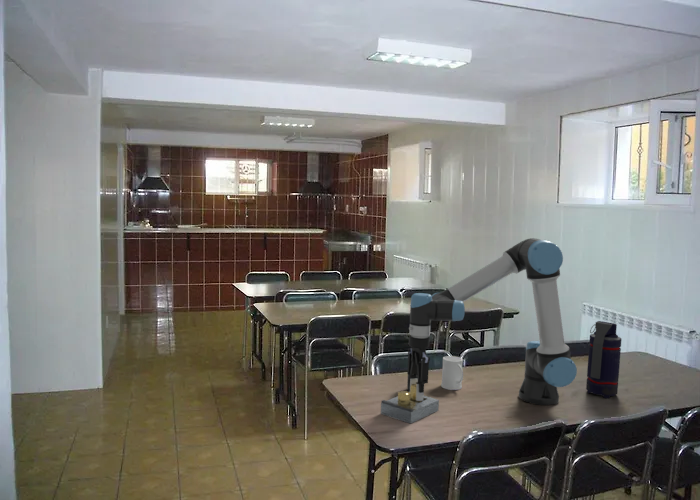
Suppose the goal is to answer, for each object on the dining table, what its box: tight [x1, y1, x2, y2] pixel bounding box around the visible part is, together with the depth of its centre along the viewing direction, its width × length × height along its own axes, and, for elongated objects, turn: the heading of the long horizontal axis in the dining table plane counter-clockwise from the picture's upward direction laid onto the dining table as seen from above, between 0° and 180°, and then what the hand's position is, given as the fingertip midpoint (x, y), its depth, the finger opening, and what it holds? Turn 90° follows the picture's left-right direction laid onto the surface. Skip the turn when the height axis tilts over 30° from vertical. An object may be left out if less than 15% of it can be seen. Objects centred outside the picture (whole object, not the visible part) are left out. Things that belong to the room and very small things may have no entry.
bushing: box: [409, 384, 422, 403], centre depth 215 cm, size 5×5×8 cm
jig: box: [380, 390, 440, 424], centre depth 212 cm, size 13×18×8 cm
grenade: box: [585, 320, 622, 399], centre depth 239 cm, size 14×12×30 cm
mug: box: [440, 355, 464, 391], centre depth 241 cm, size 12×8×12 cm
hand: (416, 398), depth 215 cm, fingers closed on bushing, 5 cm apart
